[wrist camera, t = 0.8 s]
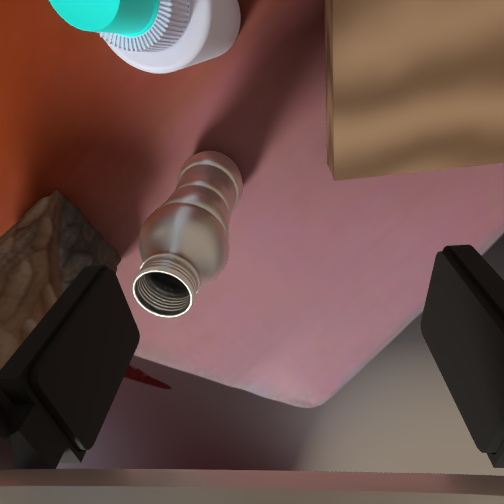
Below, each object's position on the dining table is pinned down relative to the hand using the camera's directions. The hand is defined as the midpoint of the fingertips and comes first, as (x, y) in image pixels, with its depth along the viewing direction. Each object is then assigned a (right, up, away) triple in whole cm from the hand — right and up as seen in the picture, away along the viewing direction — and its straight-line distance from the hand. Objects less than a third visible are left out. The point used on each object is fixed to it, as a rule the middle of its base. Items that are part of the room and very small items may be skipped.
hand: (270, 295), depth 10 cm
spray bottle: (-5, +22, +19) cm, 29 cm away
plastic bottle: (-5, +10, +27) cm, 29 cm away
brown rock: (-24, +3, +32) cm, 40 cm away
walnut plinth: (+14, +18, +20) cm, 30 cm away
